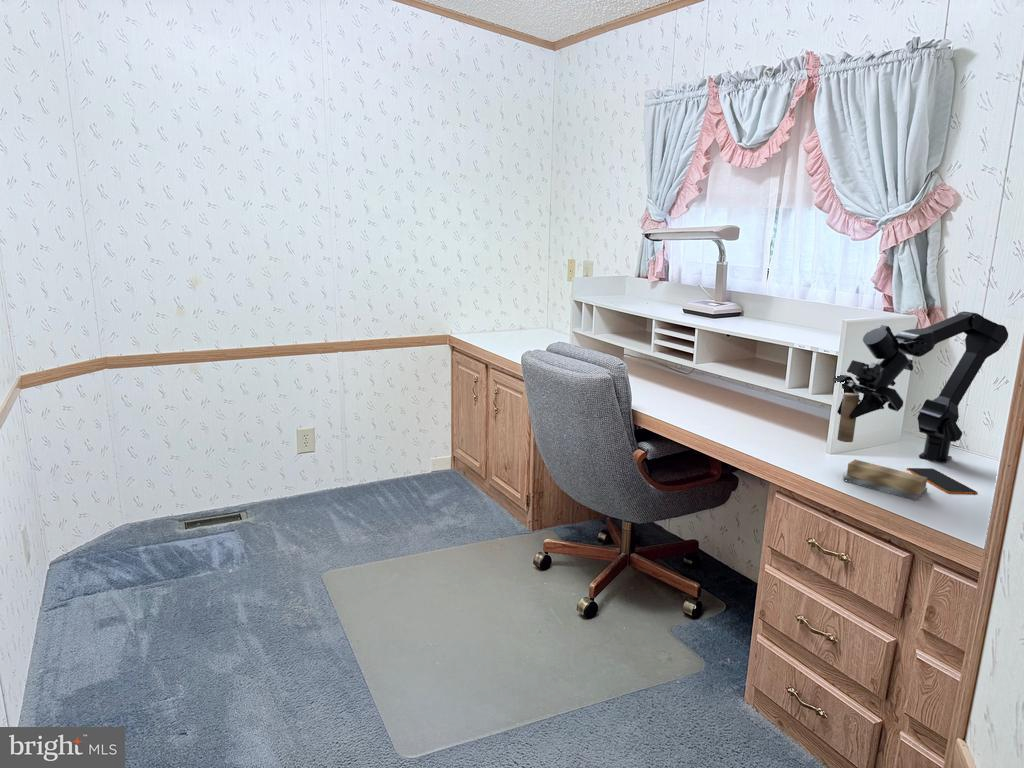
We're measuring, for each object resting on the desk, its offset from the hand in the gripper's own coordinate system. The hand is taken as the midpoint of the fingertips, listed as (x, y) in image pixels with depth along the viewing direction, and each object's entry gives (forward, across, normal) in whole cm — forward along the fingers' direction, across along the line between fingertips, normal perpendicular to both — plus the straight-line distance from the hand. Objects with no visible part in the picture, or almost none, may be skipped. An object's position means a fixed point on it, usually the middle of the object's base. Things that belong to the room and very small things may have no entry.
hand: (844, 415), depth 172 cm
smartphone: (-3, +14, +23) cm, 27 cm away
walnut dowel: (+4, 0, +6) cm, 7 cm away
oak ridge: (+9, +14, +10) cm, 20 cm away
